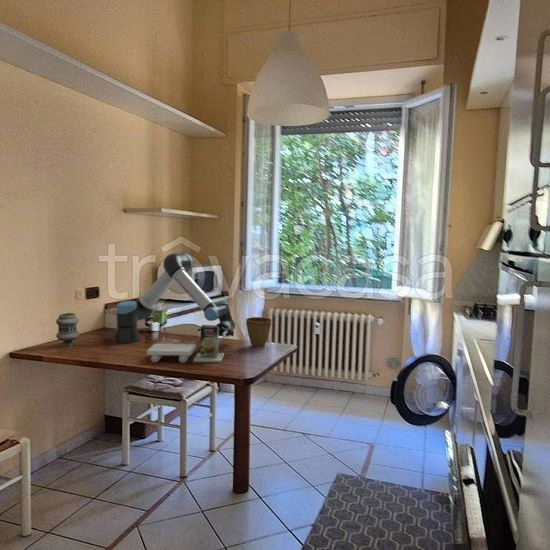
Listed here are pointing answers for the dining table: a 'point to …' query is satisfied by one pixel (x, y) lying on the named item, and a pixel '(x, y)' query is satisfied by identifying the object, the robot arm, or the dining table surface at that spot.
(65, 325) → the apothecary jar
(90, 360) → the dining table surface
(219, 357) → the pad
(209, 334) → the coffee box
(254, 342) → the plant pot
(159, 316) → the tea box
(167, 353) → the slab on rollers
